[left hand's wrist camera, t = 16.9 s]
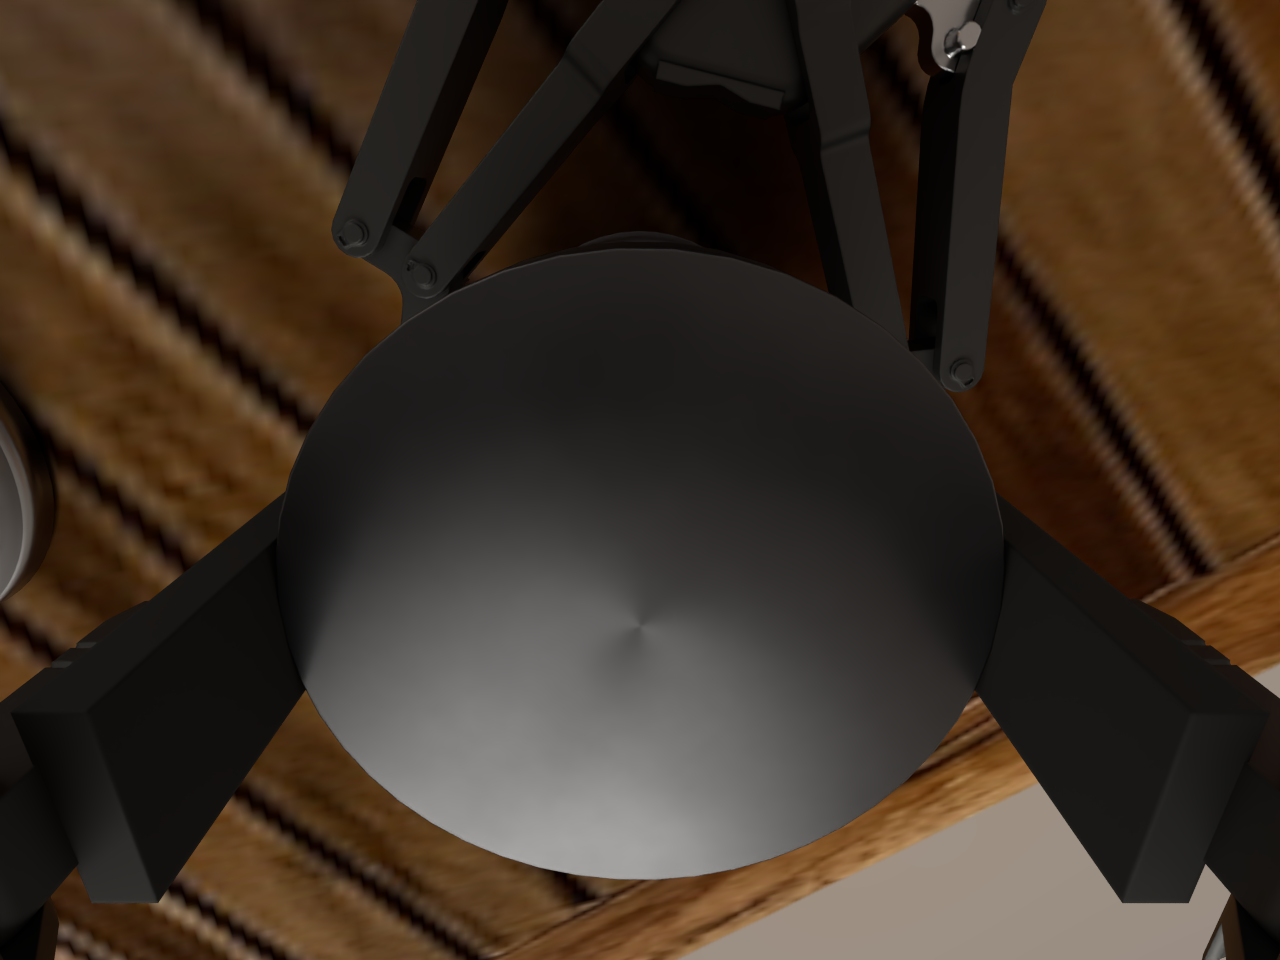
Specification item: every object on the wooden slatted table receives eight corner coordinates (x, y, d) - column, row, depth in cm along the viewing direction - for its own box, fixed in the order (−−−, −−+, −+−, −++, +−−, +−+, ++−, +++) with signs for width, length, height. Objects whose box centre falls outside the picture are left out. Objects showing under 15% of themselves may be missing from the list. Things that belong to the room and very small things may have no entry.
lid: (1051, 647, 13) (1110, 710, 11) (566, 878, 15) (557, 958, 13) (759, 74, 9) (784, 47, 8) (185, 487, 11) (112, 531, 10)
